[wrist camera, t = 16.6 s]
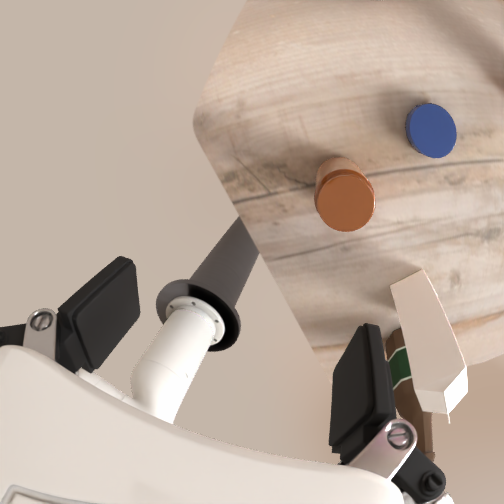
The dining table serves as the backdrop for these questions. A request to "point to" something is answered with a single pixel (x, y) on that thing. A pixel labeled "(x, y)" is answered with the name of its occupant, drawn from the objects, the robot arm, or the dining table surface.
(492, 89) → the dining table surface
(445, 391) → the milk
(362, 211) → the jar
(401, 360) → the beer bottle
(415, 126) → the jar lid
